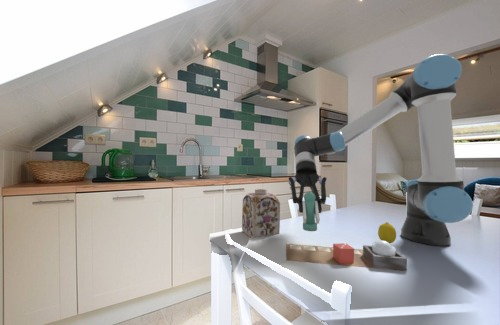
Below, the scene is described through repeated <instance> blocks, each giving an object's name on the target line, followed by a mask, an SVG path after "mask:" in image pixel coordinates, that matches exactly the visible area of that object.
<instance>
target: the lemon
mask: <svg viewBox="0 0 500 325" xmlns="http://www.w3.org/2000/svg"><path fill="white" fill-rule="evenodd" d="M377 234H378V239H379V241H381V240H383V241H386V242H388V243H390V244H393V243H394V242H395V241H396V239H397V232H396V228H395V227H394V226H393V225H392V224H390V223H389V222H386V221H385V223H381V224H380V225H379V226H378V231H377Z"/></svg>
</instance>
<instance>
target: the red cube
mask: <svg viewBox="0 0 500 325" xmlns="http://www.w3.org/2000/svg"><path fill="white" fill-rule="evenodd" d="M332 247H333V258H334V259H335V260H337V261H338V262H339V263H340V264H344V263H354V249H355V248H353V247H352V246H351V245H349V244H348V243H347V242H346V243H332Z"/></svg>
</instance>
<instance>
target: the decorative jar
mask: <svg viewBox="0 0 500 325" xmlns="http://www.w3.org/2000/svg"><path fill="white" fill-rule="evenodd" d="M267 191H268V190H267V189H266V188H264V189H263V188H256V189H255V190H254V192H250V193H249V192H248V193H247V194H245V196H244V197H243V199H242V210H241V211H242V214H241V217H242V219H241V230H242V232H243V233H244V234H245V235H247V237H249V238H250V239H251V238H252V237H253V238H256V237H264V236H273V235H279V234H280V228H281V202H280V200H279V198H278V197H277V195H276V194H273V193H269V192H267Z"/></svg>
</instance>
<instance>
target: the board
mask: <svg viewBox="0 0 500 325" xmlns="http://www.w3.org/2000/svg"><path fill="white" fill-rule="evenodd" d="M285 253H286V254H285V258H286V261H288V262H298V263H310V264H321V265H332V266H333V265H335V266H342V267H343V266H345V267H355V268H368V269H376V270H377V269H378V270H381V269H382V270H388V271H389V270H391V271H399V272H404V271H407V270H408V268H407V267H408V258H406V256H404V255H402V254H401V252H399V251H397V250H396V249H395V257H393V256H380V255H375V254H374V253H373V252H372V245H369V244H367V245H364V244H363V245H362V249H359V248H354V263H344V264H340V263H339V262H338V261H337V260H335V259H334V258H333V246H332V247H331V246H321V245H320V246H319V245H309V244H306V245H305V244H295V243H294V244H292V243H285Z"/></svg>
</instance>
